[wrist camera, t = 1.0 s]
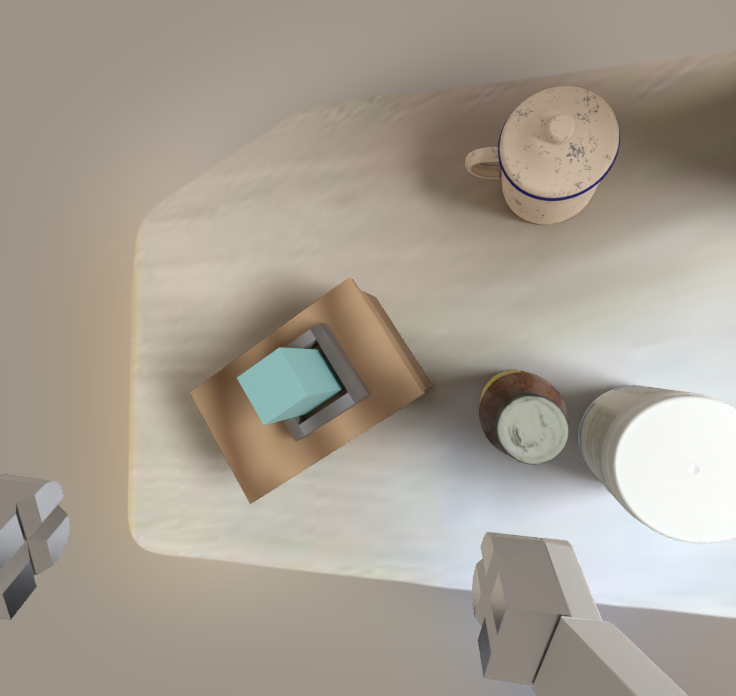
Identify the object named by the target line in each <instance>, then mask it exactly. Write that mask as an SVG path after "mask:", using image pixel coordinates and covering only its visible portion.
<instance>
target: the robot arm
mask: <svg viewBox="0 0 736 696" xmlns="http://www.w3.org/2000/svg"><path fill="white" fill-rule="evenodd" d="M63 498H64V496H63V492H62V488H61V485H60V483H57V482H54V481H49V480H42V479H35V478H29V477H22V476H15V475H8V474H0V619H6V620H11V619H12V618H13V617H14V615H15V614H16V613H17V611H18V610H19V609H20V608H21V606H22V605H23V604H24V602H25V601H26V600H27V599H28V597H29V596H30V595H31V593H32V592H33V591H34V590H35V588H36V587H37V575H38V574H39V573H41V572H43V571H45V570H46V569H48V568H50V567H51V566H53V565H54V564H55V562H56V561H57V560H58V558H59V557H60V555H61V554H62V552H63V550H64V548H65V546H66V543H67V541H68V538H69V531H70V522H69V517H68V514H67V513H66V512H65V511H64V510H63V509H62V508H61V507H60V506H59V505H58V504H59V503H60V502H61V501H62V499H63ZM481 550H482V556H483V559H482V560H481V561H479V562H478V563H477V564H476V567H475V571H474V576H473V586H472V599H473V609H474V617H475V618H476V619H477V620H478V622H479V623H480V624H481V626H482V628H481V631H480V635H479V638H478V645H479V651H480V658H481V664H482V670H483V677H484V678H488V679H494V680H501V681H507V682H514V683H521V684H527V685H533V687H532V689H533V690H534V692H535V693H536V695H537V696H688V695H687V694H686V693H685V692H684V691H683V690H682V689H680V688H679V687H678V686H677V685H676V684H675V683H674V682H673V681H672V680H671V679H670V678H669V677H668V676H667V675H666V674H665V673H664V672H663V671H662V670H661V669H660V668H659V667H657V666H656V665H655V664H654V663H653V662H652V661H651V660H650V659H649V658H648V657H647V656H646V655H645V654H644V653H643V652H642V651H641V650H640V649H639V648H638V647H636V646H635V645H634V644H633V643H632V642H631V641H630V640H629V639H628V638H627V637H626V636H625V635H624V634H623V633H622V632H621V631H620V630H619V629H618V628H617V627H616V626H615V625H613V624H612V623H611V622H605V621H602V618H601V616H600V614H599V611H598V609H597V606H596V604H595V601H594V599H593V596H592V594H591V591H590V589H589V587H588V584H587V582H586V579H585V577H584V574H583V572H582V569H581V567H580V564H579V562H578V559H577V557H576V555H575V552H574V550H573V547H572V545H571V544H570V543H569V542H568V541H565V540H556V539H547V538H537V537H528V536H518V535H509V534H500V533H491V532H487V533H486V534H485V536H484V538H483V541H482V545H481Z"/></svg>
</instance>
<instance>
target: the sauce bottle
mask: <svg viewBox="0 0 736 696" xmlns="http://www.w3.org/2000/svg"><path fill="white" fill-rule="evenodd" d="M479 416H480V422H481V426H482V429H483V431H484V433H485V435H486V437H487V438H488V440H489V441H490V442H491V443H492V444H493V445H494V446H495V447H496V448H497V449H499V450H500V451H502V452H504V453H505V454H508V455H510V456H511V457H512V458H514V459H516V460H518V461H520V462H523V463H526V464H541V463H545V462H547V461H550V460H552V459H554V458H555V457H556V456H557V455H558V454H559V453H560V452H561V451H562V450H563V448H564V447H565V445H566V442H567V439H568V432H569V430H568V424H569V421H568V416H567V410H566V406H565V403H564V400H563V398H562V397H561V395H560V394H559V392H558V391H557V390H556V389H555V388H554V387H553V386H552V385H551V384H550V383H548V382H547V381H546V380H544V379H543V378H541V377H539V376H537V375H534V374H531V373H528V372H525V371H518V370H507V371H503V372H500V373H498V374H496V375H494V376H493V377H492V378H491V379H490V380H489V381H488V382H487V384H486V385H485V387H484V388H483V390H482V394H481V398H480V407H479Z"/></svg>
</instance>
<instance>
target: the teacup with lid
mask: <svg viewBox="0 0 736 696" xmlns="http://www.w3.org/2000/svg"><path fill="white" fill-rule="evenodd" d="M619 145H620V130H619V125H618V122H617V119H616V116H615V114H614V112H613V111H612V109H611V107H610V106H609V105H608V104H607V102H606V101H605V100H604V99H602V98H601V97H600V96H598V95H597V94H595V93H594V92H592V91H590V90H587V89H584V88H580V87H575V86H557V87H551V88H548V89H544V90H542V91H539V92H537V93H535V94H533V95H532V96H530V97H528V98H527V99H526V100H524V101H523V102H522V103H521V104H520V105H519V106H518V107H517V108H516V109H515V110H514V111H513V112H512V113H511V115H510V116H509V117H508V119H507V120H506V122H505V124H504V126H503V129H502V131H501V134H500V138H499V143H498V147H484V148H479V149H476V150H473V151H471V152H470V153H468V154H467V156H466V159H465V167H466V169H467V171H468V172H469V173H471V174H472V175H474V176H477V177H480V178H485V179H502V191H503V195H504V198H505V200H506V202H507V204H508V206H509V207H510V208H511V210H512V211H513V212H514V213H515V214H516V215H518V216H519V217H521V218H522V219H524V220H526V221H529V222H532V223H536V224H555V223H560V222H563V221H565V220H568V219H570V218H572V217H573V216H575V215H576V214H578V213H579V212H580V211H581V210H582V209H583V208H584V207H585V206H586V205H587V204H588V203H589V201H590V200H591V198H592V196H593V194H594V193H595V191H596V189H597V187H598V185H599V183H600V181H601V180H602V179H603V178H604V177H605V176H606V175H607V173H608V172H609V170H610V169H611V167H612V166H613V164H614V162H615V159H616V157H617V154H618V150H619ZM485 162H499V163H500V165H485V164H482V163H485Z"/></svg>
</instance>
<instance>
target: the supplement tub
mask: <svg viewBox="0 0 736 696" xmlns="http://www.w3.org/2000/svg"><path fill="white" fill-rule="evenodd" d="M578 442H579V448H580V451H581V454H582V457H583V459H584V461H585V463H586V464H587V466H588V467H589V468H590V470H591V471H592V472H593V473H594V475H595V476H596V477H597V478H598V479H599V480H600V481H601V483H602V484H603V485H604V486H605V487H606V488H607V489H608V491H609V492H610V493H611V494H612V495H613V496H614V497H615V499H616V500H617V501H618V502H619V503H620V504H621V505H622V506H623V507H624V508H625V510H627V511H628V512H629V513H630V514H631V515H632V516H633V517H634V518H636V519H637V520H639V521H640V522H641V523H643V524H645V525H646V526H648V527H649V528H651V529H652V530H654V531H656V532H658V533H660V534H662V535H664V536H666V537H669V538H672V539H675V540H678V541H683V542H689V543H700V544H706V543H716V542H722V541H726V540H729V539H732V538H735V537H736V408H735V407H733V406H731V405H729V404H727V403H724V402H722V401H720V400H718V399H715V398H712V397H709V396H705V395H701V394H696V393H690V392H682V391H674V390H667V389H660V388H653V387H645V386H623V387H619V388H615V389H612V390H609V391H607V392H605V393H603V394H602V395H600V396H599V397H598V398H596V399H595V400H594V401H593V402H592V403H591V404H590V405H589V407H588V408H587V410H586V411H585V413H584V415H583V417H582V419H581V422H580V425H579V431H578Z"/></svg>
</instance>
